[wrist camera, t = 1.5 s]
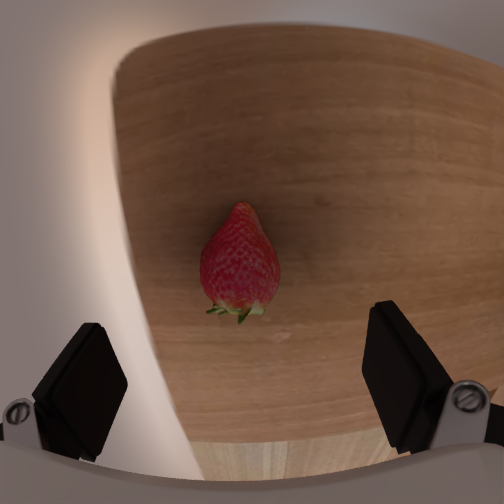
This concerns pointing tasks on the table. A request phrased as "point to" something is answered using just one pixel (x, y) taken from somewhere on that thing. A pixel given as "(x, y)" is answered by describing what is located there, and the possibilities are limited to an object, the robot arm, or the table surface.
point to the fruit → (239, 265)
